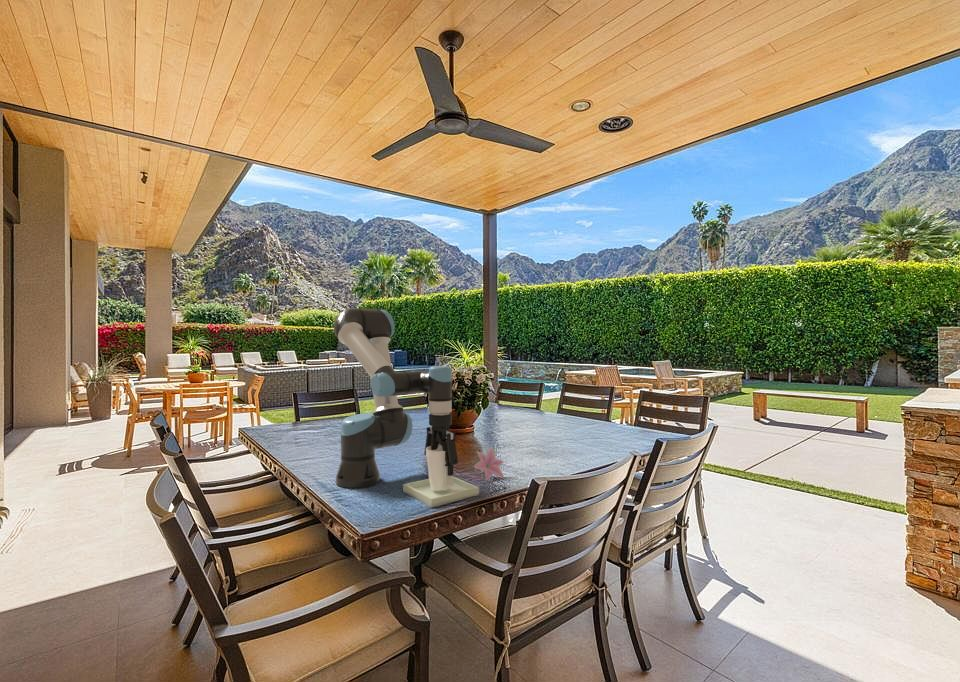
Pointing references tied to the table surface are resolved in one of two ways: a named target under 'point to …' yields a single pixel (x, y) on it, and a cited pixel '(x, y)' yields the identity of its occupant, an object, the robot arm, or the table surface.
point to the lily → (489, 464)
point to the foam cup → (436, 468)
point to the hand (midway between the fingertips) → (440, 481)
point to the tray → (440, 492)
